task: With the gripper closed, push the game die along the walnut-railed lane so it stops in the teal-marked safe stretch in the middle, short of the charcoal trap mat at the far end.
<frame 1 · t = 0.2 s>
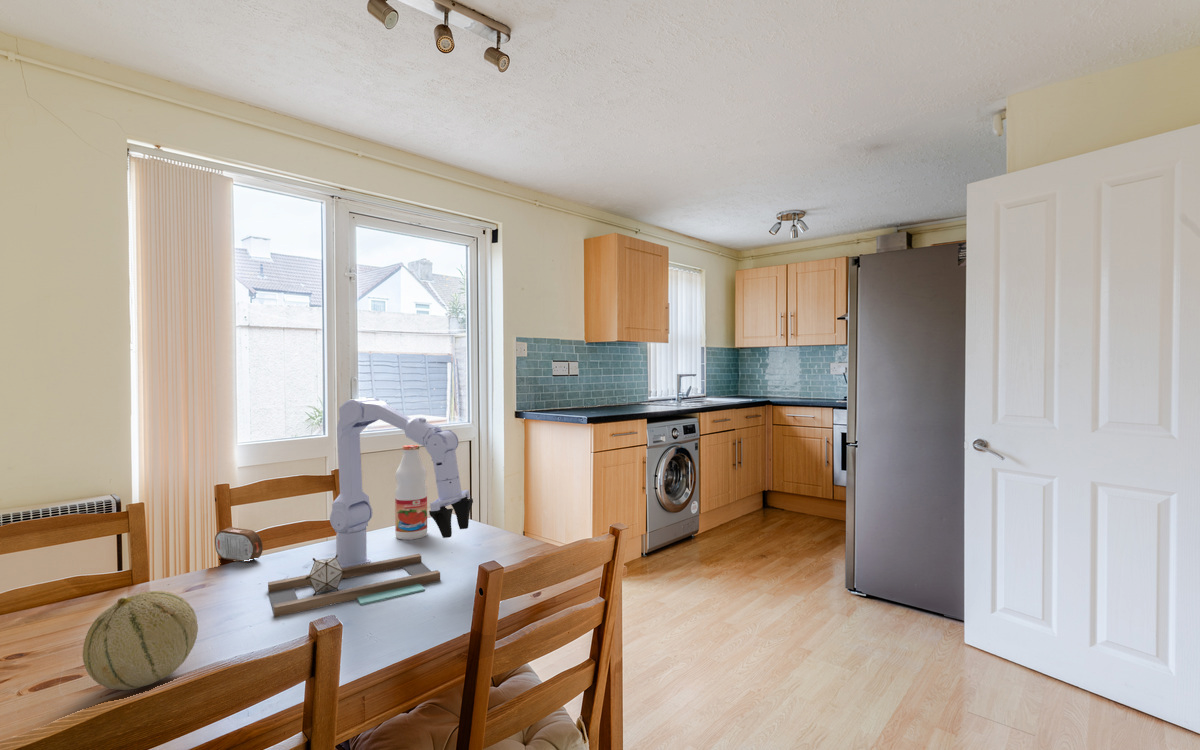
hand: (455, 532, 140), 10 cm above the table, tool pointing down, fingers open, 7 cm apart
lane rails: (356, 585, 133), on the table
game die: (326, 592, 130), on the table
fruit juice: (411, 536, 173), on the table
cantaloupe: (143, 683, 92), on the table
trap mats: (356, 585, 133), on the table
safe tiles: (356, 585, 133), on the table
tin: (238, 560, 152), on the table
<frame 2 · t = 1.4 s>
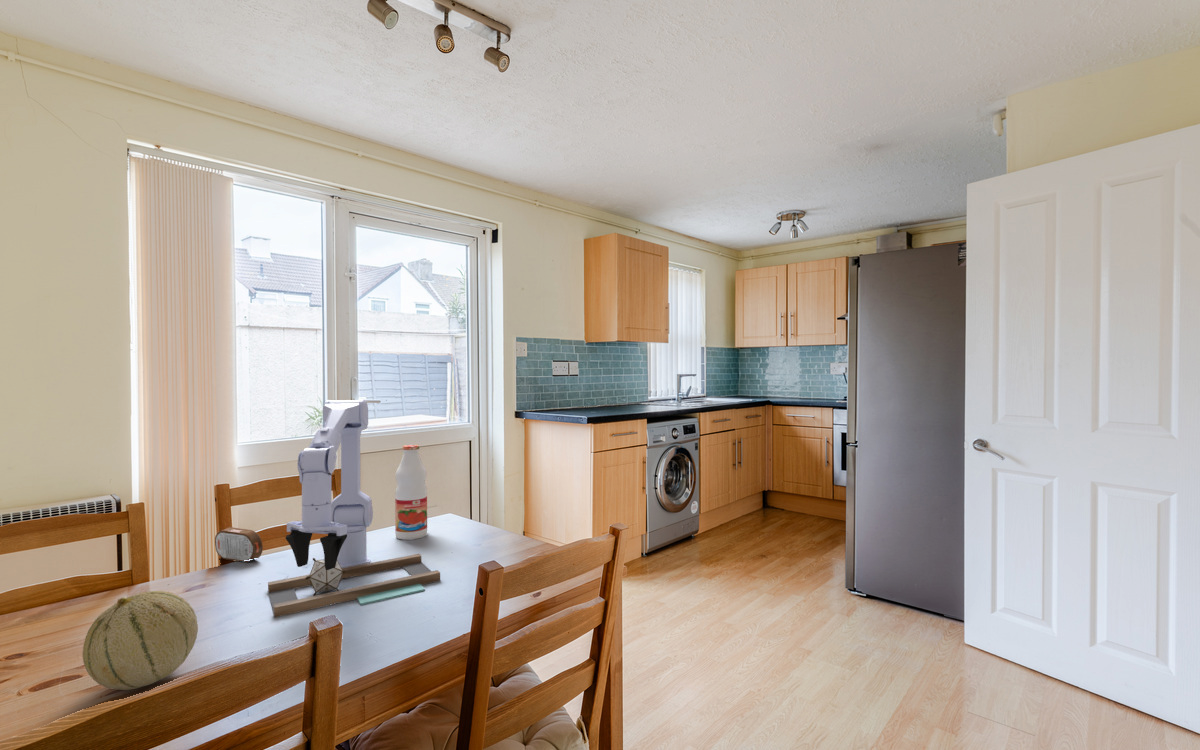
hand: (316, 567, 121), 9 cm above the table, tool pointing down, fingers open, 7 cm apart
nothing on the table moved.
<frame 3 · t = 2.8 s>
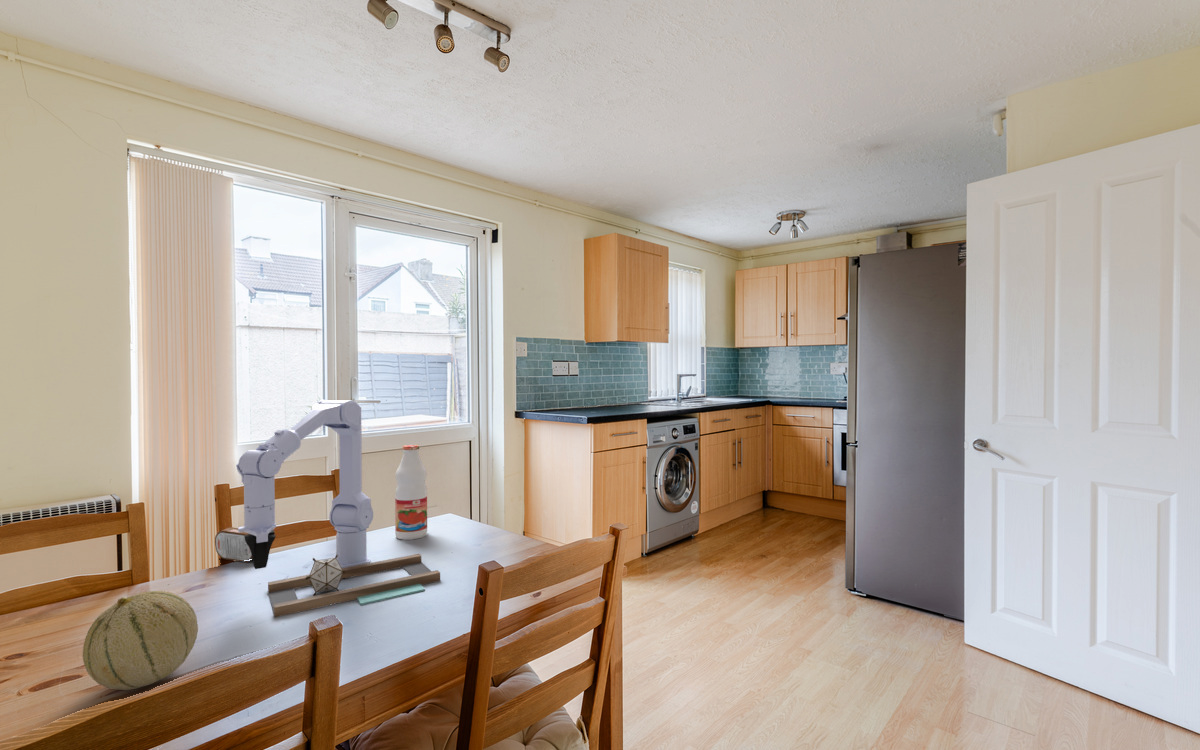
hand: (260, 567, 122), 8 cm above the table, tool pointing down, fingers closed
nothing on the table moved.
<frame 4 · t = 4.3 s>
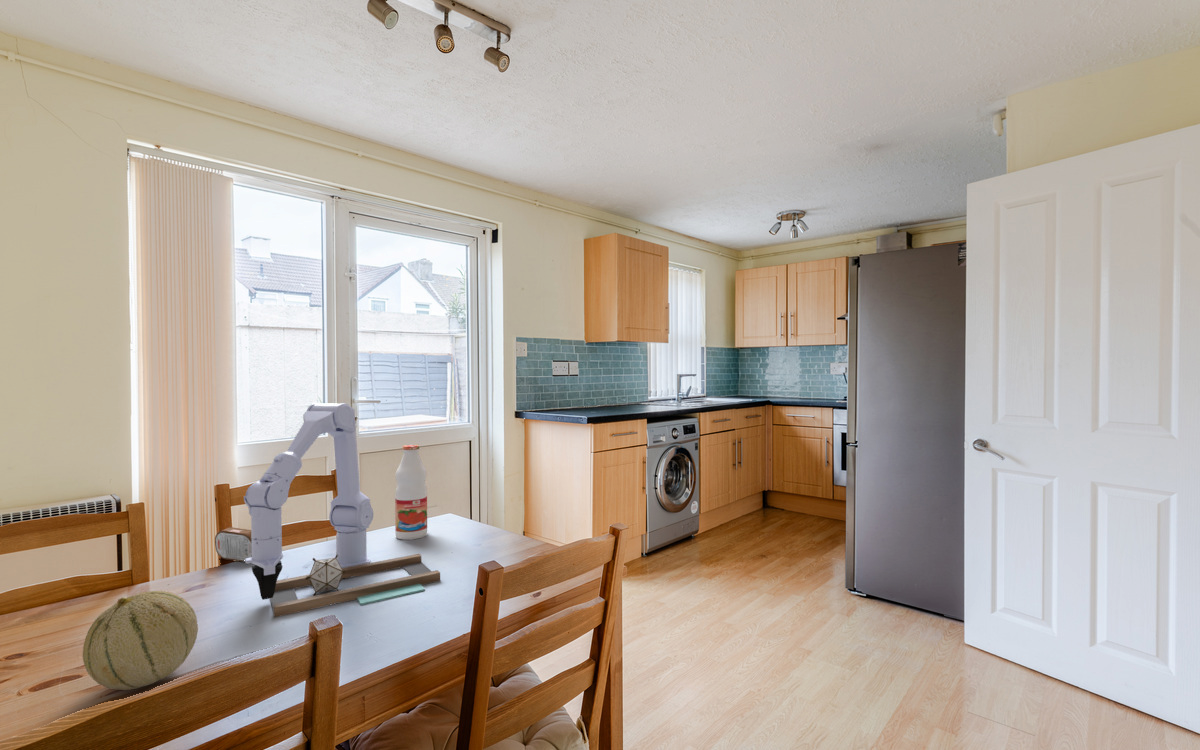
hand: (267, 597, 123), 1 cm above the table, tool pointing down, fingers closed
nothing on the table moved.
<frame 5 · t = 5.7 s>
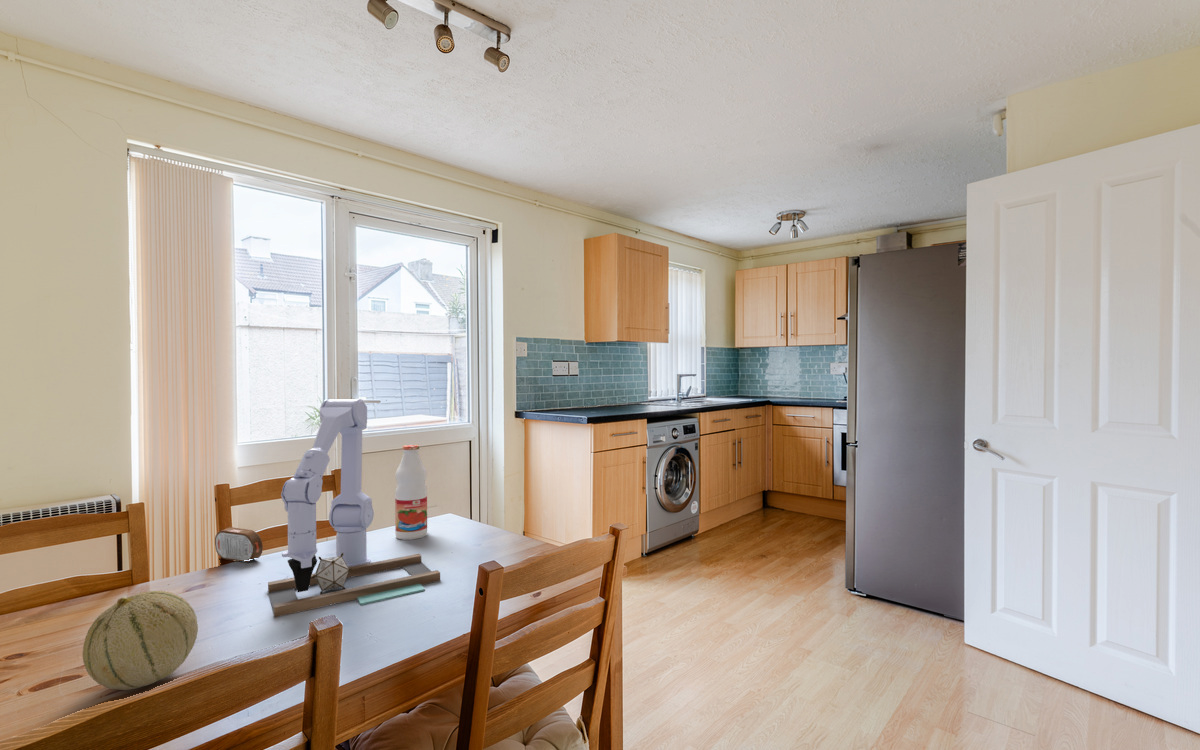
hand: (302, 590, 127), 1 cm above the table, tool pointing down, fingers closed
game die: (332, 591, 131), on the table, touching gripper
everything else where it was.
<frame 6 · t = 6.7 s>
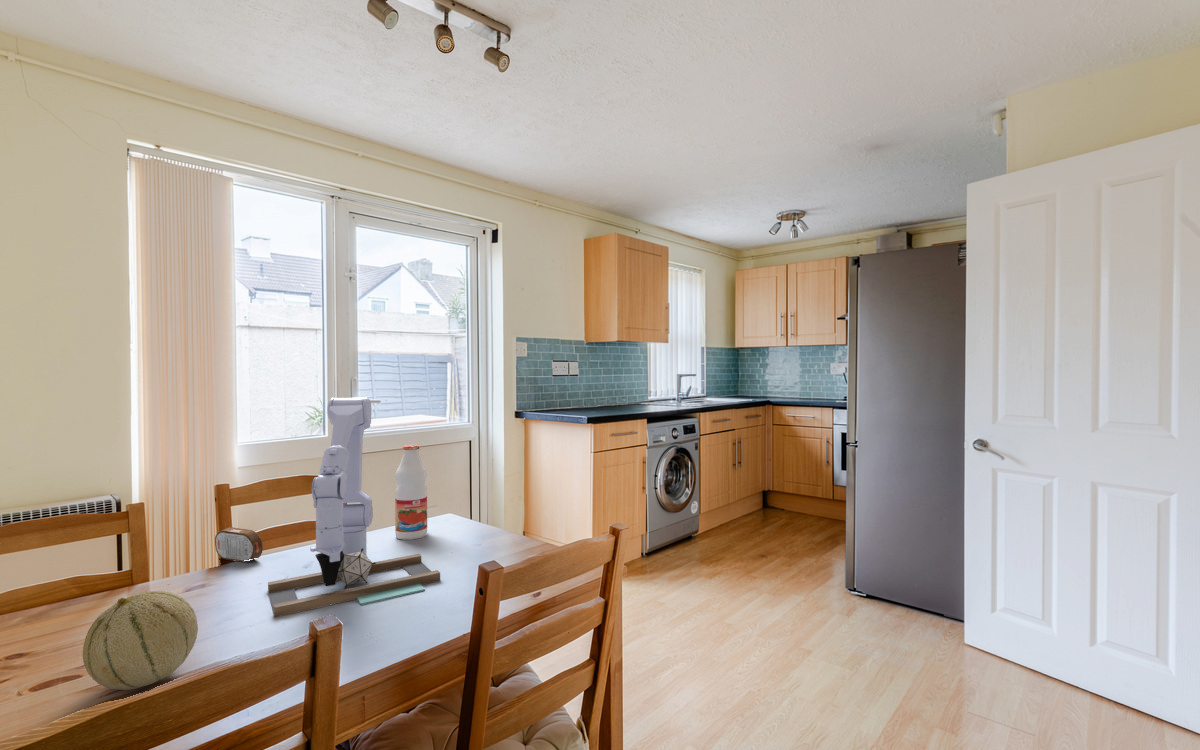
hand: (329, 584, 130), 2 cm above the table, tool pointing down, fingers closed, pressing on game die
game die: (353, 585, 134), on the table, touching gripper
everything else where it was.
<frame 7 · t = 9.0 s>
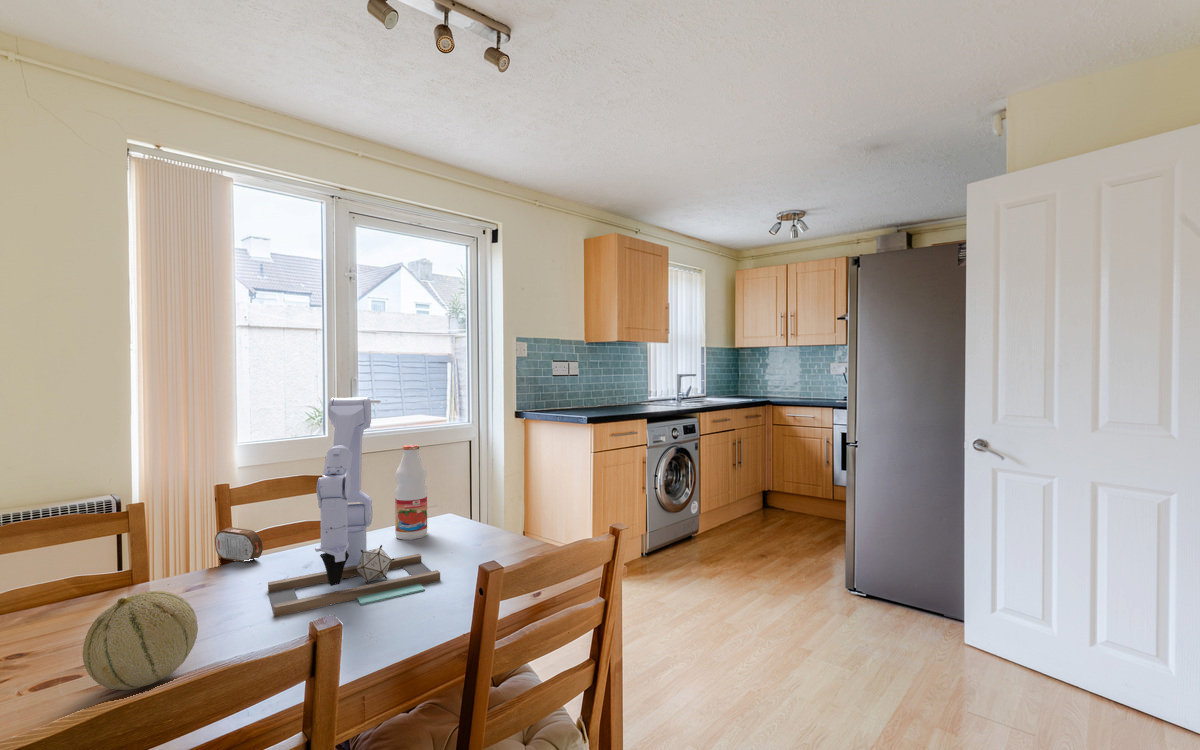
hand: (334, 584, 131), 1 cm above the table, tool pointing down, fingers closed
game die: (374, 581, 137), on the table
everything else where it was.
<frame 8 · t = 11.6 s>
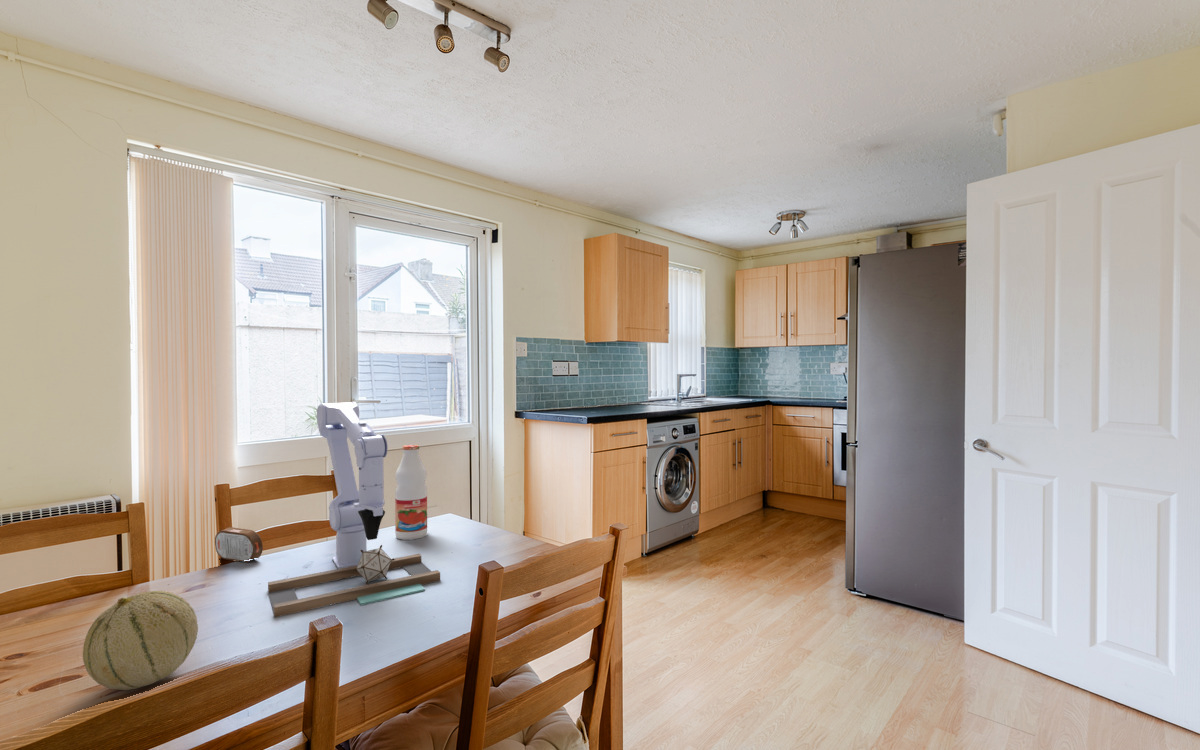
hand: (371, 538, 139), 9 cm above the table, tool pointing down, fingers closed
nothing on the table moved.
at the end: game die inside the target area (1.2 cm from its centre), on the table; game die tilted 0°; game die moved 10.8 cm from its start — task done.
